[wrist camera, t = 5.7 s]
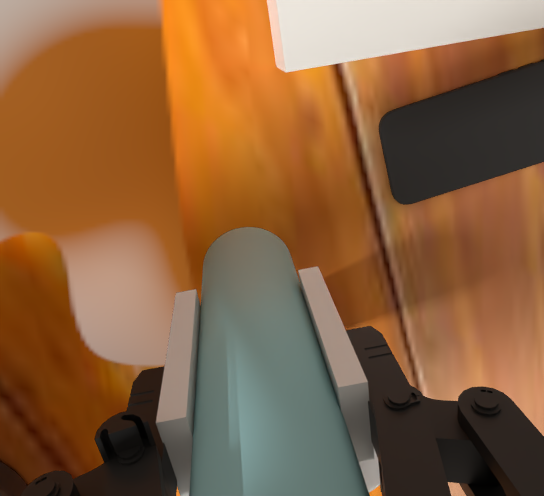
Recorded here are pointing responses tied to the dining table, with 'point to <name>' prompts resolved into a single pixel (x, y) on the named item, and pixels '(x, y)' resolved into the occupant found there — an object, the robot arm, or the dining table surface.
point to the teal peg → (264, 382)
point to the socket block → (387, 26)
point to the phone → (465, 135)
